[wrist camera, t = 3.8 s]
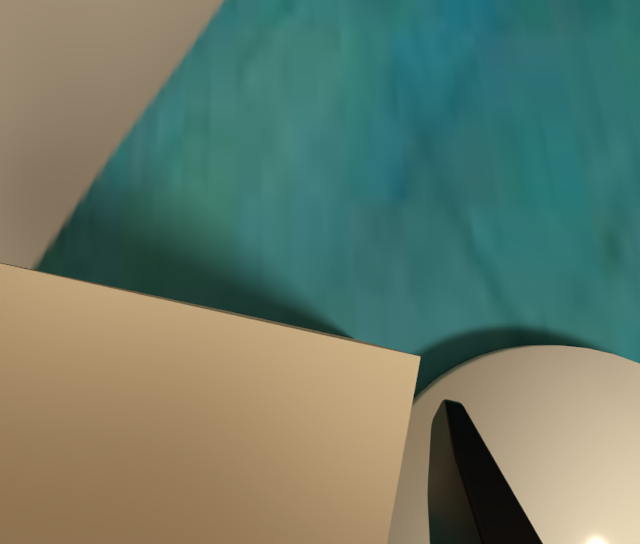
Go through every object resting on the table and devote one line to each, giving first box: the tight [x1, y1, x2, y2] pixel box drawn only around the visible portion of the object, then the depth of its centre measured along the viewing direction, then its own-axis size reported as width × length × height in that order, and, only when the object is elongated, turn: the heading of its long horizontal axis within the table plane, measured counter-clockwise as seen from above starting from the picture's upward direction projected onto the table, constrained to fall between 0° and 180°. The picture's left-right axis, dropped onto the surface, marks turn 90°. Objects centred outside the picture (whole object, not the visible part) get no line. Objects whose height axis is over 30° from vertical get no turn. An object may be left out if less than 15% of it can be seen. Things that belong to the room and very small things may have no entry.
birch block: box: [0, 263, 421, 544], centre depth 10 cm, size 5×5×13 cm
